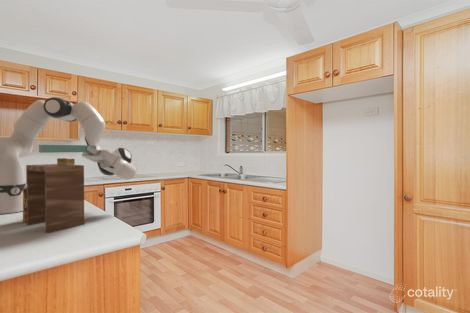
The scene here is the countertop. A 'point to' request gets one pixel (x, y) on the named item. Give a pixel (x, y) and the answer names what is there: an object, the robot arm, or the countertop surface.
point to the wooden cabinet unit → (55, 194)
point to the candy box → (24, 205)
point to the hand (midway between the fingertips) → (84, 147)
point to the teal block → (64, 148)
